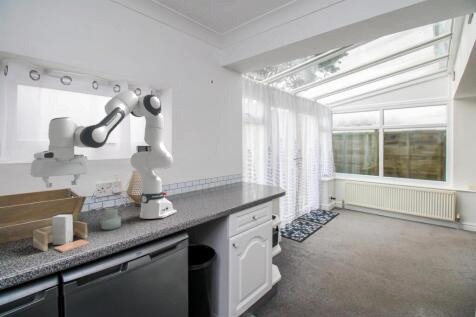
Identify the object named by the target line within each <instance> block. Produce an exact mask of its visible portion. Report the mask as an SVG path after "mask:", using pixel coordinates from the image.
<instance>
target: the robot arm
mask: <svg viewBox="0 0 476 317" xmlns="http://www.w3.org/2000/svg"><path fill="white" fill-rule="evenodd" d="M104 112H105V114H106V116H104V117H103V118H102V119H101V120H100V121H99V122H98V123H96V124H93V125H88V126H84V125H81V124H79V123H77V122H76V121H75V120H74V119H72V117H69V116H67V117H55V118H51V120H50V121H49V124H48V132H47V133H48V134H47V135H48V136H47V137H48V140H49V143H48V144H49V145H48V150H44V151H40V152H36V153H34V154H33V157H34V159H33V161H31V166H30V175H31V176H32V177H33V178H41V179H42V181H43V182H44V183H45V188H52V187H53V186H52V185H53V182H50V181H49V180H50V178H49V177H62V176H63V177H64V176H73V177H74V179H73V180H71V181H70V183H71V186H77V184H78V180H79V179H80V177H81V176H80V175H87V174H88V173H89V165H88V156H86V155H84V154H75V147H77V148H91V149H98V148H102V147H104V145H106V143H107V141H108V140H109V139H108V138H109V136H110V135H111V134H112V132H113V131H114V130H115V129H116V127H117V126H118V125H120V124H121V122H123V120H124V119H125V118H126V117H128V116H129V114H131V116H133V117H136V118H141V117H144V118H145V126H144V135H143V138H144V139H143V141H144V142H145V143H146V145H148V146H150V148H151V151H138V152H134V153H133V154H132V155H131V157H130V166H132V168H134V169H135V170H136V172H138V175H139V176H140V179H141V186H142V187H141V188H142V189H141V190H142V193H141V208H140V214H139V218H140V219H164V218H167V217H169V216H170V215H173V214H176V213H177V209H174V208H173V203H172V202H171V201H170V200H168V199H167V198H166V197H165V196H167V195H168V192H166V191H164V192H163V189H162V188H163V181H162V180H163V179H162V178H161V177H160V176H158V175H157V174H156V173H155V170H159V171H161V170H167V169H170V168H172V166H173V164H174V157H173V155H172V154H171V153H170V152H169V151H168V150H167V148H166V146H165V140H164V139H165V136H164V134H165V118H164V115H163V114H162V113H161V112H162V103H161V99H160V97H158V96H157V95H155V94H145V95H142V96H140V97H139V96H138V95H137V94H135V92H133V91H131V90H123V91H122V92H119V93H118V94H116V95H114V96H113V97H112V98H111V99H109V100H108V101H107V103H106V104H105V105H104Z"/></svg>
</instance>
